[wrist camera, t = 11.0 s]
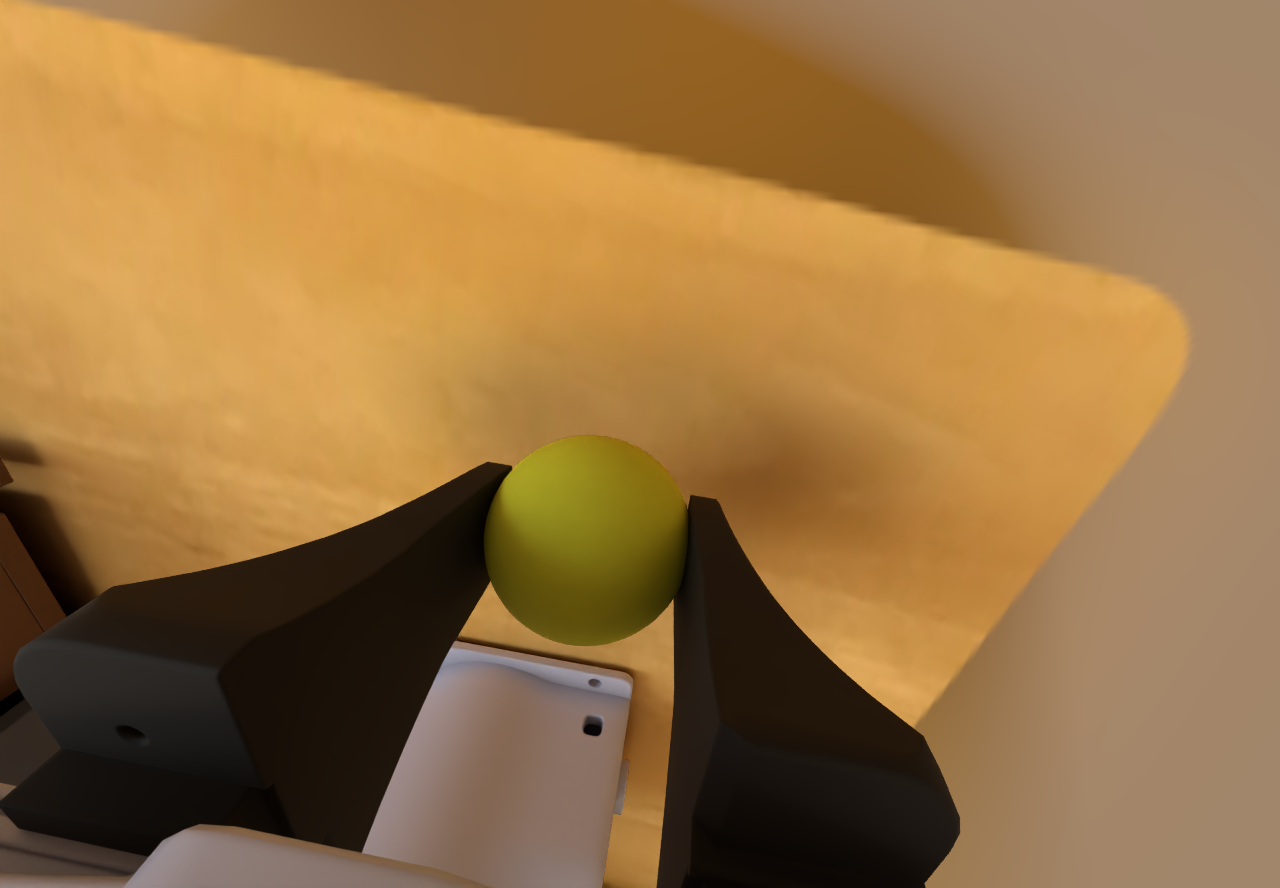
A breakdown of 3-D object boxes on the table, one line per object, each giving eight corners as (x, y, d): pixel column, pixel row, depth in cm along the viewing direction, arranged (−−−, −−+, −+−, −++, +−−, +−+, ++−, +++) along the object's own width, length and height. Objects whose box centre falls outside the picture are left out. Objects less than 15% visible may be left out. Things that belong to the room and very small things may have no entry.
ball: (708, 419, 12) (709, 535, 8) (679, 564, 14) (668, 713, 10) (525, 390, 12) (435, 489, 8) (523, 537, 14) (451, 672, 10)
